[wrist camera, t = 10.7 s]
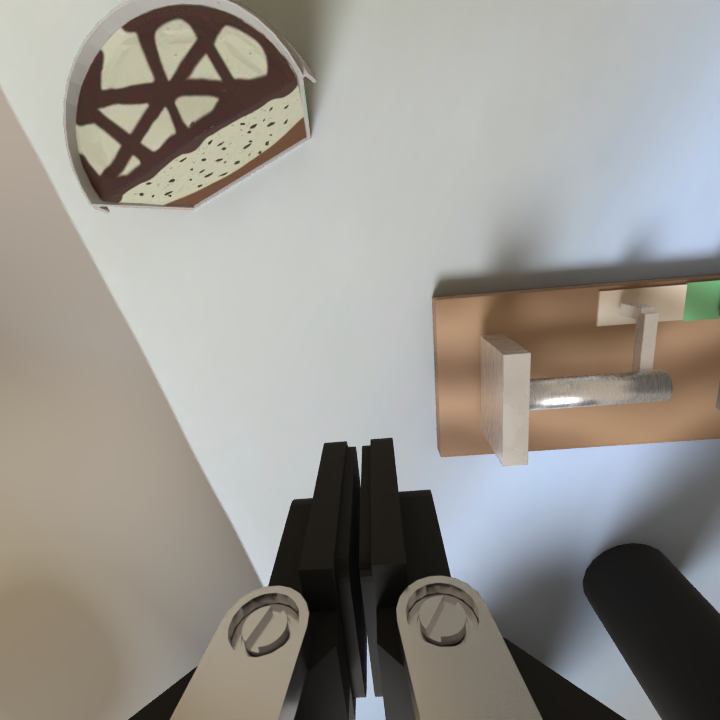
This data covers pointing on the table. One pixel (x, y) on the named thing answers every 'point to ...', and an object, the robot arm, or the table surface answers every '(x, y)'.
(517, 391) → the plunger
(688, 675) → the wine bottle
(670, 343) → the gauge board
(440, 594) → the robot arm
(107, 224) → the table surface
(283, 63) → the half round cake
